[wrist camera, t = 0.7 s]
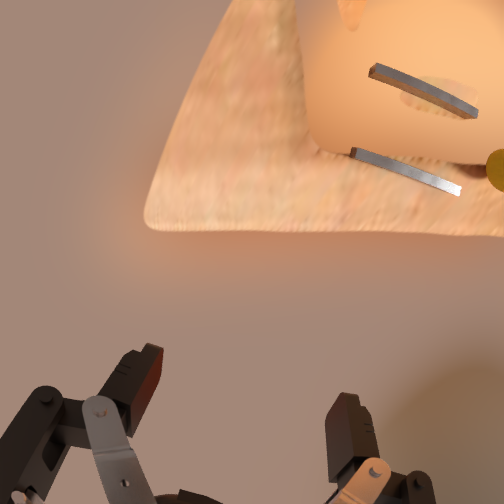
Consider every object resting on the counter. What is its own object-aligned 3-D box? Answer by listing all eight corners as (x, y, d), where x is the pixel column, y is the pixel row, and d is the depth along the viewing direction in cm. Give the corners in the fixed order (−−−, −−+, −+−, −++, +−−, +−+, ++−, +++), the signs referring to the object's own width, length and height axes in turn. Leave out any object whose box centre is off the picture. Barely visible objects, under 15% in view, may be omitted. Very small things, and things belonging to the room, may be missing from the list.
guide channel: (369, 68, 30) (376, 62, 27) (466, 110, 30) (478, 109, 27) (349, 156, 34) (354, 158, 31) (447, 192, 34) (458, 196, 31)
